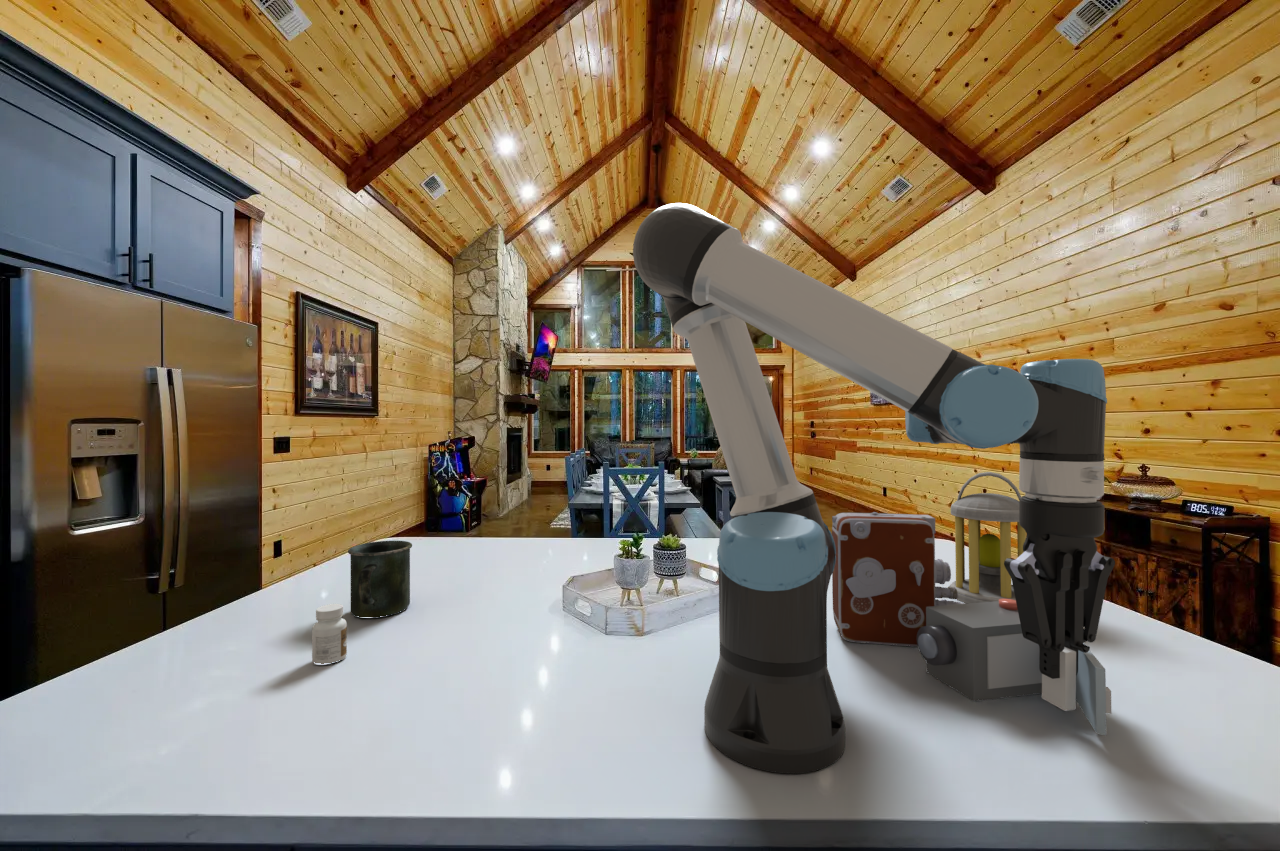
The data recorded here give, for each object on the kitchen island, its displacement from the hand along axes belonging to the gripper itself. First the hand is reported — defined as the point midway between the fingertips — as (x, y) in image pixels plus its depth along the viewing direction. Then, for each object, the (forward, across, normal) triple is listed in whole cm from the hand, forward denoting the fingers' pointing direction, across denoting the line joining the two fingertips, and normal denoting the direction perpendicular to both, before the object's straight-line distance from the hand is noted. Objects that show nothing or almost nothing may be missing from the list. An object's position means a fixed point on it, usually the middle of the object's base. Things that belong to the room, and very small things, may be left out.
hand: (1058, 703), depth 60 cm
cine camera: (+3, -1, +25) cm, 25 cm away
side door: (+1, +5, +1) cm, 5 cm away
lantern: (+3, +30, +38) cm, 49 cm away
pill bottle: (+3, -88, +36) cm, 95 cm away
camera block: (+2, 0, +10) cm, 10 cm away
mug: (+4, -87, +56) cm, 103 cm away
